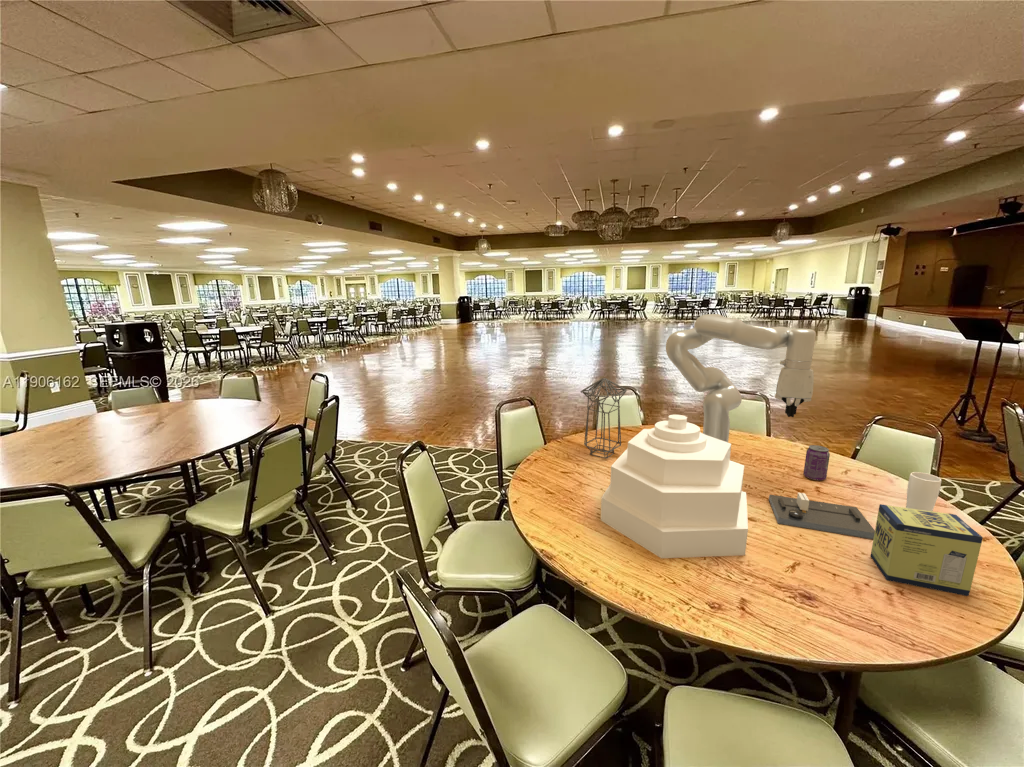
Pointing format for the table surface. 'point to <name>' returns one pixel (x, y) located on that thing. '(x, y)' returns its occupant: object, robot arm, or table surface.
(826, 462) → the beverage can
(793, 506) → the console
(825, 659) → the table surface
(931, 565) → the protein box
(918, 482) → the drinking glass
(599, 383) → the geometric lantern
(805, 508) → the fader
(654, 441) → the tiered cake
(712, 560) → the table surface
